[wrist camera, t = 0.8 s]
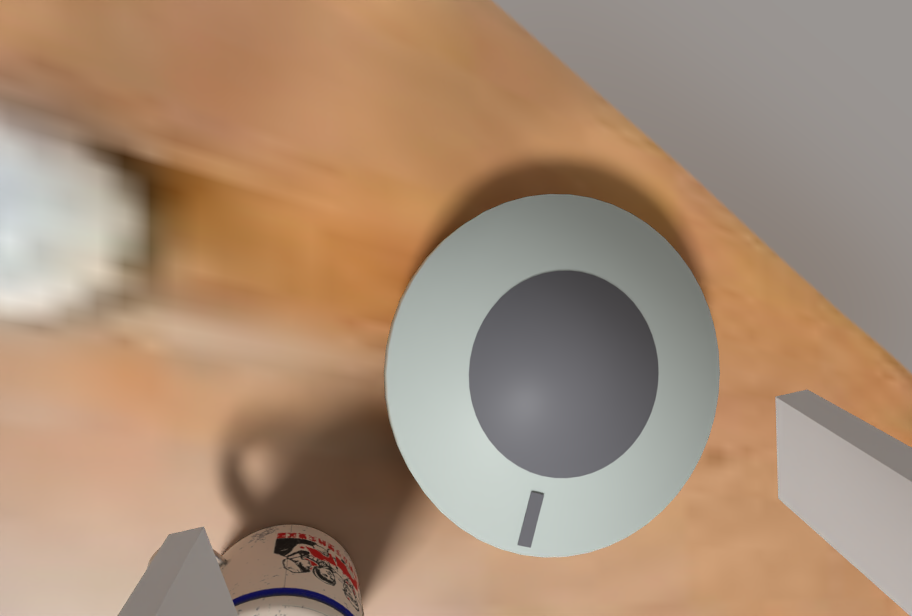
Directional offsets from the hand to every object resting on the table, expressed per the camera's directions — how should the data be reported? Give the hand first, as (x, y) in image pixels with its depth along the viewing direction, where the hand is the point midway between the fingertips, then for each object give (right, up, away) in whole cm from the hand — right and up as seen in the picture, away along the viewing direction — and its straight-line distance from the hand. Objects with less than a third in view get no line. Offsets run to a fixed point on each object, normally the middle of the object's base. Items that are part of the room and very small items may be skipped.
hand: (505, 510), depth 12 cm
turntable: (+5, +1, +20) cm, 21 cm away
